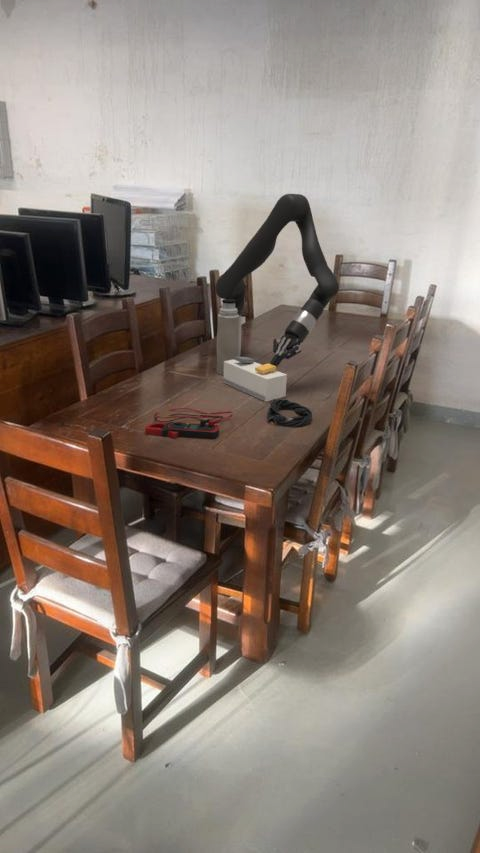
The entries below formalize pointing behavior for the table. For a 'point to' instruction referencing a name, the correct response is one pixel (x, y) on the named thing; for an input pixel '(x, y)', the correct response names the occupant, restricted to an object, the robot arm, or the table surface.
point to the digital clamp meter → (187, 426)
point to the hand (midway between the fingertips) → (273, 365)
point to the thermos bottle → (227, 334)
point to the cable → (286, 404)
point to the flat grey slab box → (244, 359)
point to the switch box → (255, 380)
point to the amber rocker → (265, 368)
